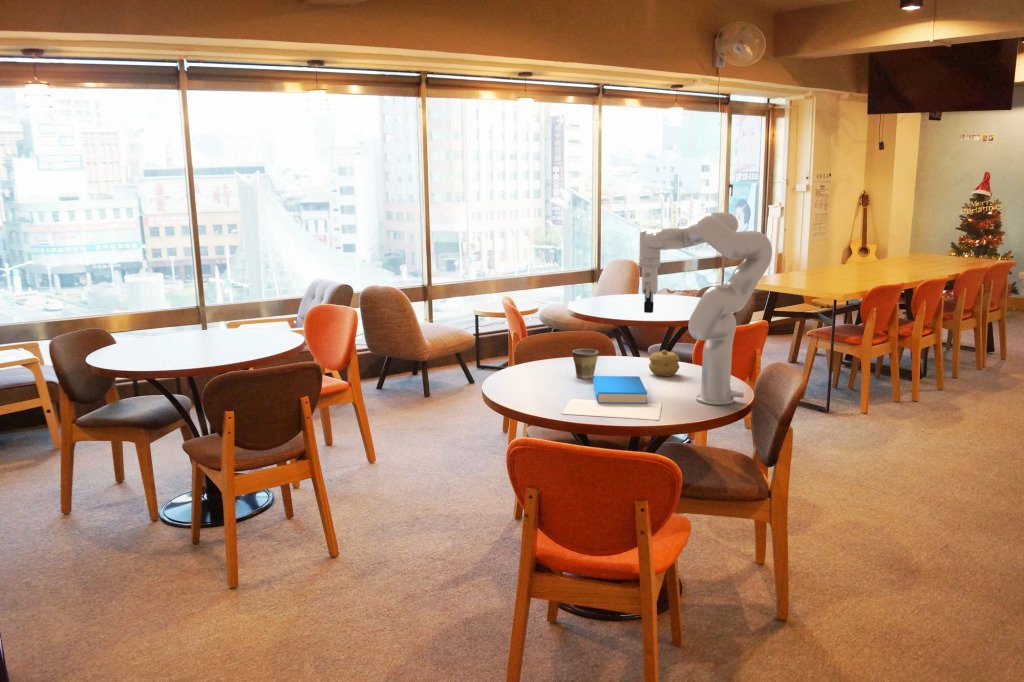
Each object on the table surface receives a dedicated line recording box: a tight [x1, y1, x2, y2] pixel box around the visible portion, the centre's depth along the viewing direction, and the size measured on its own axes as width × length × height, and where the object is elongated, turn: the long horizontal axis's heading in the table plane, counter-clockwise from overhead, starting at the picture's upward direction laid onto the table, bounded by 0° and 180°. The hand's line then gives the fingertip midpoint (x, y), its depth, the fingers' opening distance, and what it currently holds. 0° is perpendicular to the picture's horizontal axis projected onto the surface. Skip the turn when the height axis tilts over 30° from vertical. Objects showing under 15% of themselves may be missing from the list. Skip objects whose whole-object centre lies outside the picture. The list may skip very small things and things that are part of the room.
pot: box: [648, 349, 680, 377], centre depth 311 cm, size 12×12×10 cm
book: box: [592, 375, 648, 404], centre depth 281 cm, size 17×4×25 cm
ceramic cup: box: [572, 348, 599, 379], centre depth 310 cm, size 13×10×10 cm
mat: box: [561, 398, 663, 421], centre depth 263 cm, size 31×19×1 cm, turn 77°
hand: (648, 312), depth 294 cm, fingers closed
